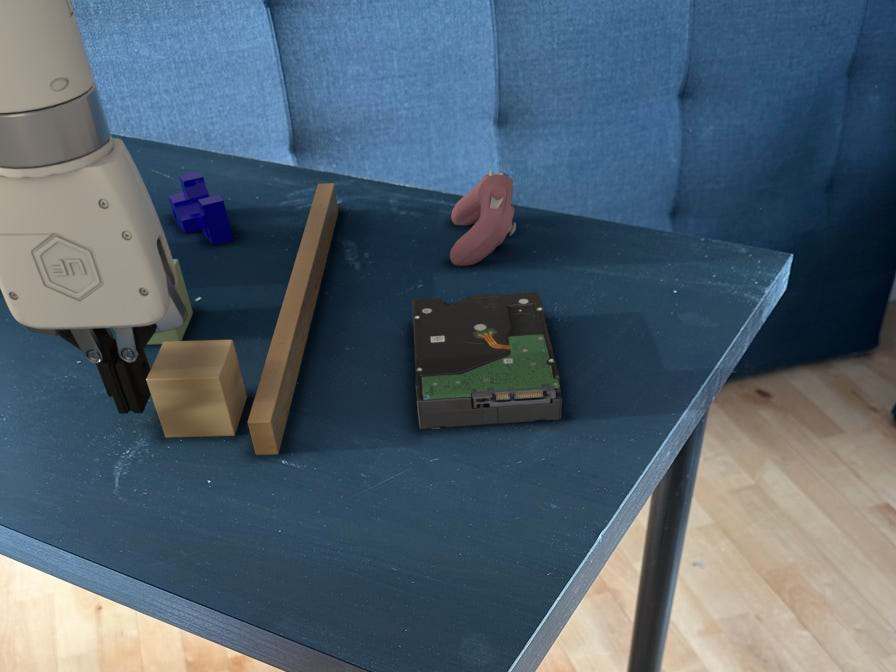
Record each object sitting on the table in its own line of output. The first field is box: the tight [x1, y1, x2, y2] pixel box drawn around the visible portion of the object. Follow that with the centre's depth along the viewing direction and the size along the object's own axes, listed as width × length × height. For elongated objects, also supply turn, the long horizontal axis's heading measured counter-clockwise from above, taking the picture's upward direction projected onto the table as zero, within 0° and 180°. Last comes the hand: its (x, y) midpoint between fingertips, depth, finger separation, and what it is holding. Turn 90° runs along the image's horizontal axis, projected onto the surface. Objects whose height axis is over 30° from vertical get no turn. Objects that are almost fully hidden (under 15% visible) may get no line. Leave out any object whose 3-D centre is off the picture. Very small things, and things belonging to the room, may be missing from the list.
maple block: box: [146, 339, 248, 438], centre depth 66 cm, size 5×5×5 cm
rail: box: [247, 182, 339, 456], centre depth 77 cm, size 2×40×3 cm, turn 0°
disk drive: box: [411, 291, 563, 430], centre depth 70 cm, size 10×3×15 cm
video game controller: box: [449, 169, 517, 267], centre depth 84 cm, size 10×5×7 cm, turn 0°
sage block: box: [112, 258, 194, 345], centre depth 76 cm, size 5×5×5 cm
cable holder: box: [167, 171, 234, 246], centre depth 89 cm, size 8×4×4 cm, turn 28°
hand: (136, 402), depth 67 cm, fingers closed
